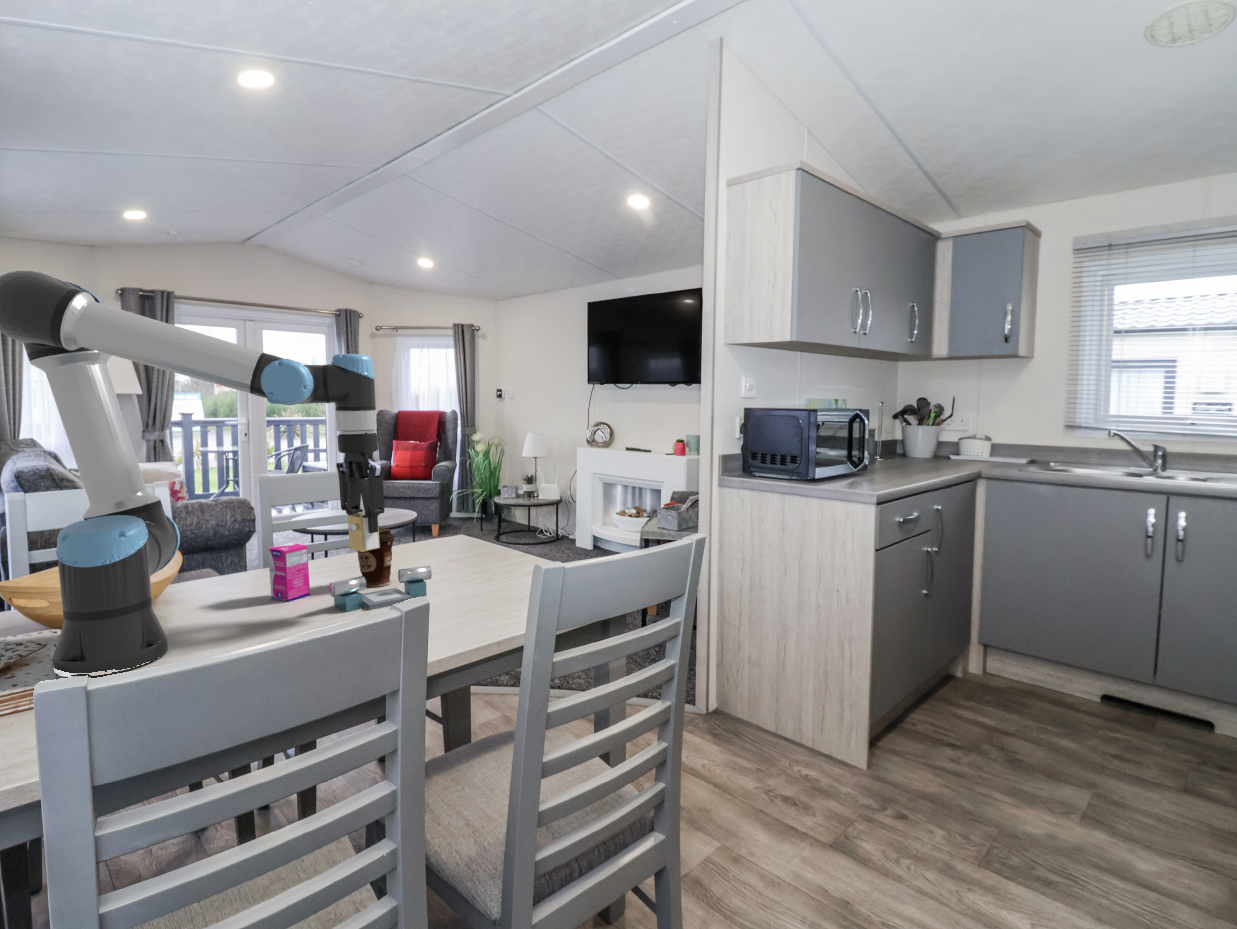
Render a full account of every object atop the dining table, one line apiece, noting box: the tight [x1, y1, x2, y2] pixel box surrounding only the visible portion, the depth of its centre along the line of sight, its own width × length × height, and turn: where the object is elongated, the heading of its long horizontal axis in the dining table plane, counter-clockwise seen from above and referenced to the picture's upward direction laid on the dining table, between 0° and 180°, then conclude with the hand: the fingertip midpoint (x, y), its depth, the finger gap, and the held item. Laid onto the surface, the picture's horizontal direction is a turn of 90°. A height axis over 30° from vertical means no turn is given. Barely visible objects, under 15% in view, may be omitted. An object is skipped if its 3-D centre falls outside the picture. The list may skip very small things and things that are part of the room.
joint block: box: [347, 511, 380, 552], centre depth 133 cm, size 6×4×7 cm
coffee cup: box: [356, 527, 395, 588], centre depth 154 cm, size 9×8×13 cm
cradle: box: [362, 587, 413, 611], centre depth 142 cm, size 9×9×1 cm
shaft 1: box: [328, 575, 367, 613], centre depth 137 cm, size 7×5×6 cm
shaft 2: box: [397, 565, 433, 599], centre depth 146 cm, size 7×5×6 cm
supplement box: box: [267, 542, 311, 603], centre depth 144 cm, size 6×6×12 cm
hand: (364, 546), depth 134 cm, fingers closed on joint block, 4 cm apart
